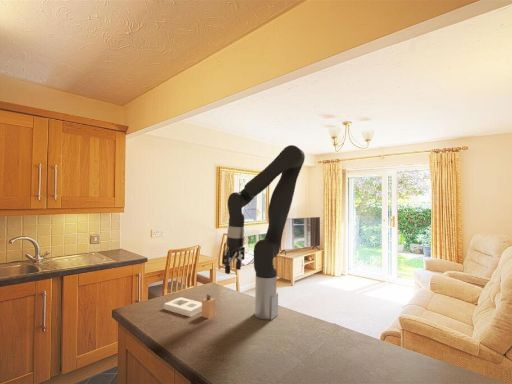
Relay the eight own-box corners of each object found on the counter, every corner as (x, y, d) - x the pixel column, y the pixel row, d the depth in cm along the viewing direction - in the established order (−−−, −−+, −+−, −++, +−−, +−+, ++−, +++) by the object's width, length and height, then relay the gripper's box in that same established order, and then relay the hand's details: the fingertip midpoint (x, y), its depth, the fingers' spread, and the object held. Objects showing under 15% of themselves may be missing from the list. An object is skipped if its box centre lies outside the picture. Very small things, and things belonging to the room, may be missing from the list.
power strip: (205, 309, 127) (206, 303, 127) (190, 317, 119) (190, 310, 119) (180, 302, 135) (180, 296, 135) (164, 309, 127) (164, 303, 127)
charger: (214, 315, 121) (215, 294, 121) (208, 318, 118) (209, 297, 118) (207, 313, 123) (208, 292, 123) (201, 316, 119) (202, 295, 120)
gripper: (233, 239, 119) (230, 276, 119) (250, 235, 131) (248, 269, 132) (219, 236, 123) (216, 273, 123) (237, 233, 135) (235, 266, 135)
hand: (232, 271), depth 127 cm, fingers open, 8 cm apart
